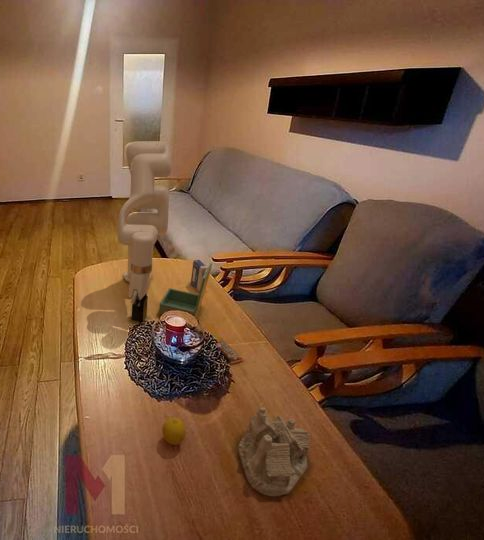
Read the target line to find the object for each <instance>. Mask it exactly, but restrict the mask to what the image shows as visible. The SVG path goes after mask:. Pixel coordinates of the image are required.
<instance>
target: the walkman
mask: <svg viewBox="0 0 484 540" xmlns="http://www.w3.org/2000/svg"><path fill="white" fill-rule="evenodd" d="M207 268H208V266H207V265H206V264H205V263H203V261H201V260H200V259H195V260H194V259H193V263H192V271H191V279H190V285H192V287H194V288H196V289H197V291H198V292H200V288H201V284H202V280H203V277H204V275H205V272H206V270H207Z"/></svg>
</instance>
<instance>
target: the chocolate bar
mask: <svg viewBox="0 0 484 540" xmlns="http://www.w3.org/2000/svg"><path fill="white" fill-rule="evenodd" d="M216 344H217V345H216V346H215V347H216V348H217V349H218V350H219V351H220V352H221V353H222V354H223V357H224V358H225V359H226V360H227V361H228V362H229V364H231V365H232V364H236V363H239V362H242V361H243V362H244V359H243V358H242V357H241V356H240V355H238V353H237V352H236V351H234V349H232V348H231V347H230V346H229V345H228V344H227V343H226V342H225V341H221V342H218V343H216Z"/></svg>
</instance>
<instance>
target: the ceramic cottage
mask: <svg viewBox="0 0 484 540" xmlns="http://www.w3.org/2000/svg"><path fill="white" fill-rule="evenodd" d="M295 424H296V420H295V419H294V418H290V419H288V421H286V420H285V418H284V417H283V416H282V415H280V414H279V415H276V417H274V418H273V419H270V418H269V417H268V415H267V414H266V408H265V407H264V406H261V407H259V409H258V411H257V412H255V413H254V414H253V415H251V416H250V417H249V427H248V426H247V428H246V429H247V430H245V434H244V435H243V436H242V438H241V440H240V441H239V443H238V446H237V453H238V455H239V456H238V457H239V459H240V462H241V465H242V469H243V471H244V475H245V477H246V480H247V482H248V483H249V485H250V486H251V487H252V488H253V489H254V490H256V491H257V492H258V493H260V494H262V495H263V496H266V497H267V496H268V497H280V496H284V495H288V494H290V493H291V492H292V490H293V489H294V488H295V486H296V484H297V483H298V482H299V480H300V478H301V477H302V476H303V475H304V473H305V472H306V471H307V469H308V457H307V456H306V455H307V454H308V452H309V449H310V448H311V443H310V442H311V439H310V433H309V431H308V430H306V429H303V428H302V427H301V428H299V427H295Z"/></svg>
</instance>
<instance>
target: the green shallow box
mask: <svg viewBox="0 0 484 540" xmlns="http://www.w3.org/2000/svg"><path fill="white" fill-rule="evenodd" d="M198 295H199V293H198V294H197V293H193V292H188V291H184V290H179V289H175V288H171V287H170V288H168V289H167V290H166V293H165V294H164V296H163V297H162V299H161V301H160V302H159V307H158V308H159V309H158V315H160V316H162V315H161V314H162V313H163V312H165V311H168V310H180V311H185V312H188V313H191V314H192V315H194V316H195V317H196V319H197V317H198V316H199V313H200V310H201V308H202V305H203V300H202V301H201V303H200V306H199V308H198V310H197V311H195V307H196V303H197V299H198Z"/></svg>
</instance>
